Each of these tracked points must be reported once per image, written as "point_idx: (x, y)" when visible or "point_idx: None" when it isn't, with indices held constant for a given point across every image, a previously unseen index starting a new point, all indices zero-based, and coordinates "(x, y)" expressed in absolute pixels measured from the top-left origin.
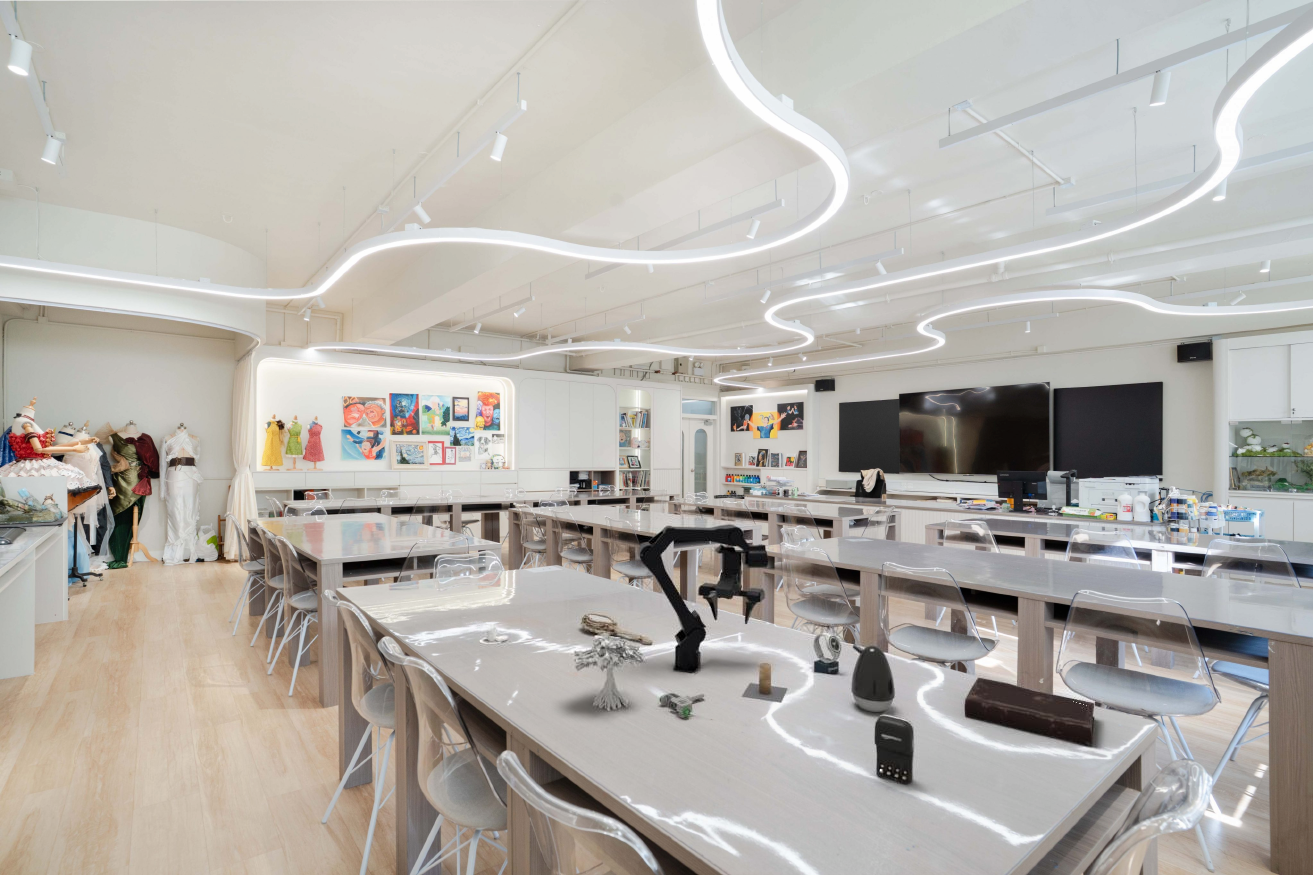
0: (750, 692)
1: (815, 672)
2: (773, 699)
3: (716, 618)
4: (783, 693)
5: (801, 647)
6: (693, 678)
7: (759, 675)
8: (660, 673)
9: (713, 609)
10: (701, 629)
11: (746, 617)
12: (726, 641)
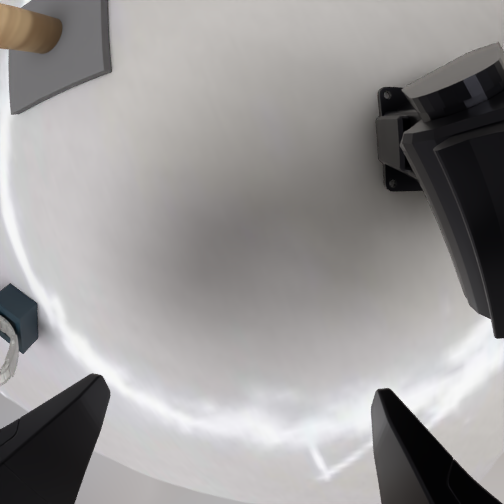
0: (83, 1)
1: (33, 301)
2: None
3: (375, 406)
4: (12, 70)
5: (152, 443)
6: (351, 30)
7: (22, 9)
8: None
9: (427, 464)
10: (456, 113)
11: (56, 402)
12: (348, 436)
